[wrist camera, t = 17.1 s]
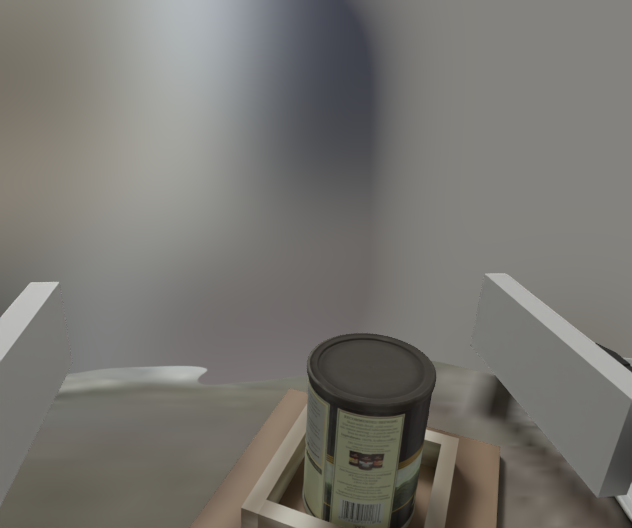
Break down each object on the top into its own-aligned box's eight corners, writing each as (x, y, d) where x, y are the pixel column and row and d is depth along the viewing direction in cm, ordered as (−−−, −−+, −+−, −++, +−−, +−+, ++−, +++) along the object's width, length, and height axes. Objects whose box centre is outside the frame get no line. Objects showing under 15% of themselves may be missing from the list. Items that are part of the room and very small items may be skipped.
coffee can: (381, 445, 52) (396, 325, 46) (437, 527, 43) (463, 390, 37) (286, 468, 48) (290, 341, 43) (325, 562, 39) (337, 417, 34)
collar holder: (166, 568, 39) (163, 532, 38) (289, 395, 60) (290, 367, 59) (484, 707, 32) (496, 668, 30) (498, 454, 53) (505, 423, 51)
